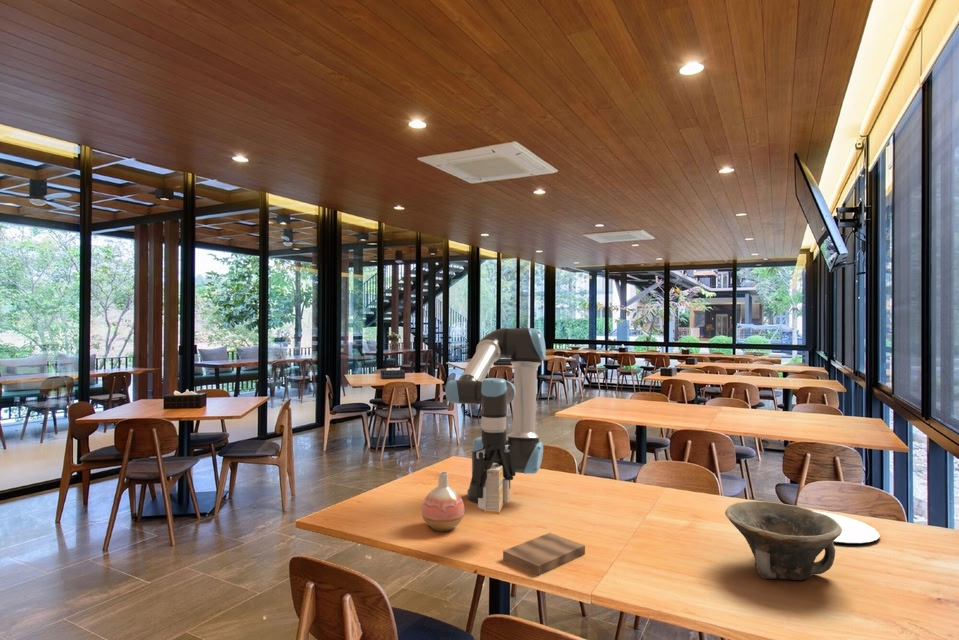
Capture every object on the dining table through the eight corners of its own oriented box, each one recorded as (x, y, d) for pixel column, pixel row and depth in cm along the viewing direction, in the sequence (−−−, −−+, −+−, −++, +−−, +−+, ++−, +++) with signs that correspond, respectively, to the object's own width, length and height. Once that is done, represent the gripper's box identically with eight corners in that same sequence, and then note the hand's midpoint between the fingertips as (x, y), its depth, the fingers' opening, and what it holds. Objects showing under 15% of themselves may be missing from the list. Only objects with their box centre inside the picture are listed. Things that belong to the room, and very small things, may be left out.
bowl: (793, 606, 125) (793, 541, 126) (704, 561, 150) (704, 507, 150) (866, 585, 136) (866, 525, 136) (772, 546, 160) (772, 495, 161)
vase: (431, 539, 165) (431, 480, 165) (415, 524, 177) (415, 470, 177) (471, 531, 171) (472, 475, 171) (453, 518, 183) (453, 465, 183)
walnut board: (549, 541, 164) (549, 532, 164) (585, 554, 154) (585, 545, 154) (503, 559, 150) (503, 550, 150) (538, 575, 140) (538, 566, 140)
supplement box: (499, 514, 159) (499, 470, 159) (483, 513, 160) (483, 469, 160) (504, 505, 167) (504, 463, 167) (488, 504, 168) (488, 462, 168)
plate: (867, 522, 182) (867, 517, 182) (891, 554, 156) (891, 548, 156) (769, 509, 194) (769, 505, 194) (776, 537, 168) (776, 532, 168)
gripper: (510, 423, 173) (510, 493, 174) (458, 433, 159) (458, 509, 159) (527, 426, 168) (527, 499, 168) (475, 437, 153) (475, 516, 153)
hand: (493, 504), depth 163 cm, fingers closed on supplement box, 9 cm apart
